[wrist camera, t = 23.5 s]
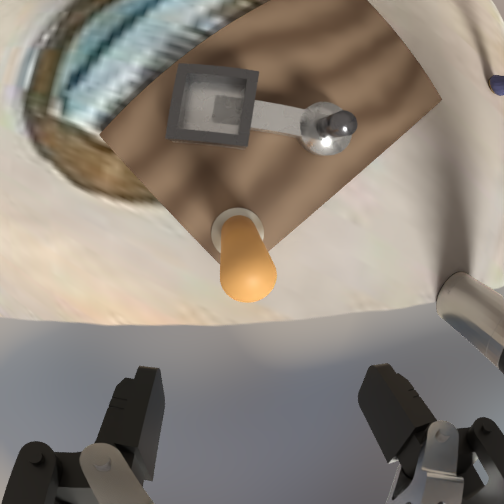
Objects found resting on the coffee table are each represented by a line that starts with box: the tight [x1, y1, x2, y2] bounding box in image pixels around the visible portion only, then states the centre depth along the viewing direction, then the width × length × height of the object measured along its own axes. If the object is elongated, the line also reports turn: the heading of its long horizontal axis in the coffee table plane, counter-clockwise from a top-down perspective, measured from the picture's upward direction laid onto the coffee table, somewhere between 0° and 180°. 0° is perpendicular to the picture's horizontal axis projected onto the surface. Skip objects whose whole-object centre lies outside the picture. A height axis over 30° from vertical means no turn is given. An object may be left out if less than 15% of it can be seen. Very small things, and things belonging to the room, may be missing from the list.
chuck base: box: [100, 0, 442, 264], centre depth 29 cm, size 24×39×2 cm, turn 131°
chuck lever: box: [165, 63, 357, 156], centre depth 25 cm, size 19×8×7 cm, turn 82°
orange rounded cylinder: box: [220, 215, 277, 302], centre depth 26 cm, size 4×4×13 cm
